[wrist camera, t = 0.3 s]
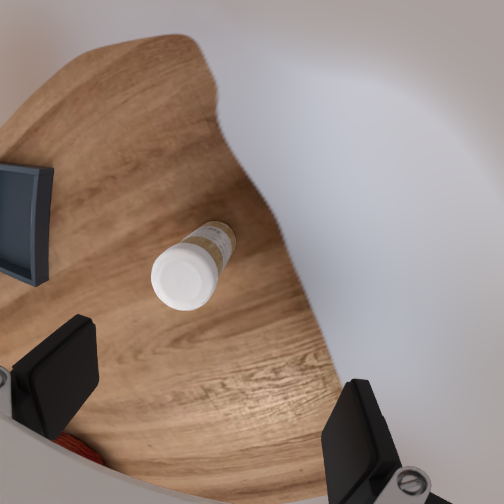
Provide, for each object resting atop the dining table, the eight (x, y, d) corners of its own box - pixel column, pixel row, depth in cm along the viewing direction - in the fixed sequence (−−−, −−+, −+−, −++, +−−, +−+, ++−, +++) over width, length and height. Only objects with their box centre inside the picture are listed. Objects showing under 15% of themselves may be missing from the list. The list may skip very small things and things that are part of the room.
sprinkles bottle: (189, 250, 34) (141, 294, 21) (205, 212, 33) (161, 237, 20) (227, 268, 34) (199, 323, 21) (244, 230, 33) (224, 267, 20)
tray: (-3, 161, 33) (-17, 162, 30) (54, 168, 33) (39, 168, 30) (-6, 258, 37) (-18, 263, 34) (48, 280, 36) (35, 287, 33)
